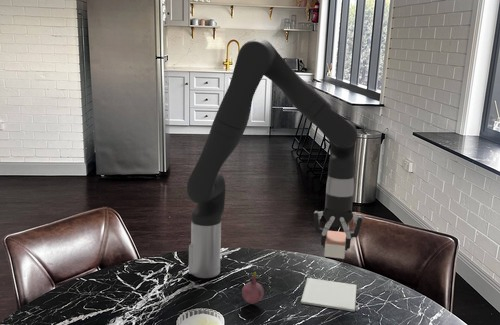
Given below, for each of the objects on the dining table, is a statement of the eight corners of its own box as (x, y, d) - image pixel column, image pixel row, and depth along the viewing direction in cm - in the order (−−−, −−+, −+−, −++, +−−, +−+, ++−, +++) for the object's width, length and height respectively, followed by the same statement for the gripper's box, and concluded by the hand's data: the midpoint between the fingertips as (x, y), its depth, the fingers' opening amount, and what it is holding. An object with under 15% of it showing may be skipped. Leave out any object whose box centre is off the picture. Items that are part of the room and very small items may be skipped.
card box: (344, 258, 133) (345, 245, 132) (324, 256, 134) (325, 242, 133) (345, 245, 142) (346, 232, 141) (326, 243, 143) (327, 230, 143)
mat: (300, 303, 136) (300, 301, 136) (307, 279, 150) (307, 277, 150) (354, 311, 133) (354, 309, 132) (356, 286, 147) (356, 284, 147)
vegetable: (259, 312, 130) (261, 278, 128) (238, 307, 132) (239, 274, 130) (265, 301, 136) (267, 269, 134) (245, 297, 138) (246, 265, 136)
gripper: (312, 193, 132) (308, 250, 136) (365, 198, 129) (360, 256, 133) (315, 186, 139) (312, 240, 143) (366, 190, 136) (361, 246, 140)
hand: (335, 247), depth 138 cm, fingers closed on card box, 5 cm apart
